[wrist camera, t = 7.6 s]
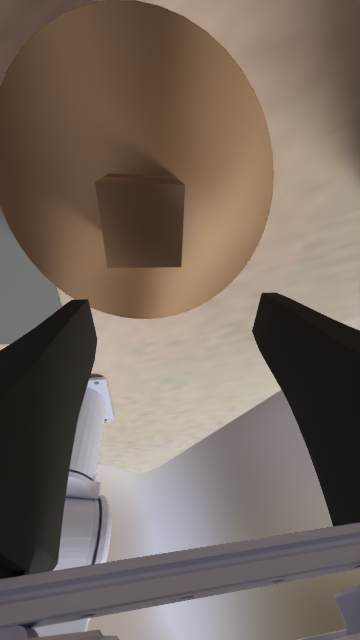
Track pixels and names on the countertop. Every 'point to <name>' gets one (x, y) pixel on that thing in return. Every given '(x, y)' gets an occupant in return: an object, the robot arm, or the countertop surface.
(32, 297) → the mat
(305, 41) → the countertop surface
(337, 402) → the robot arm
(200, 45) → the lid
